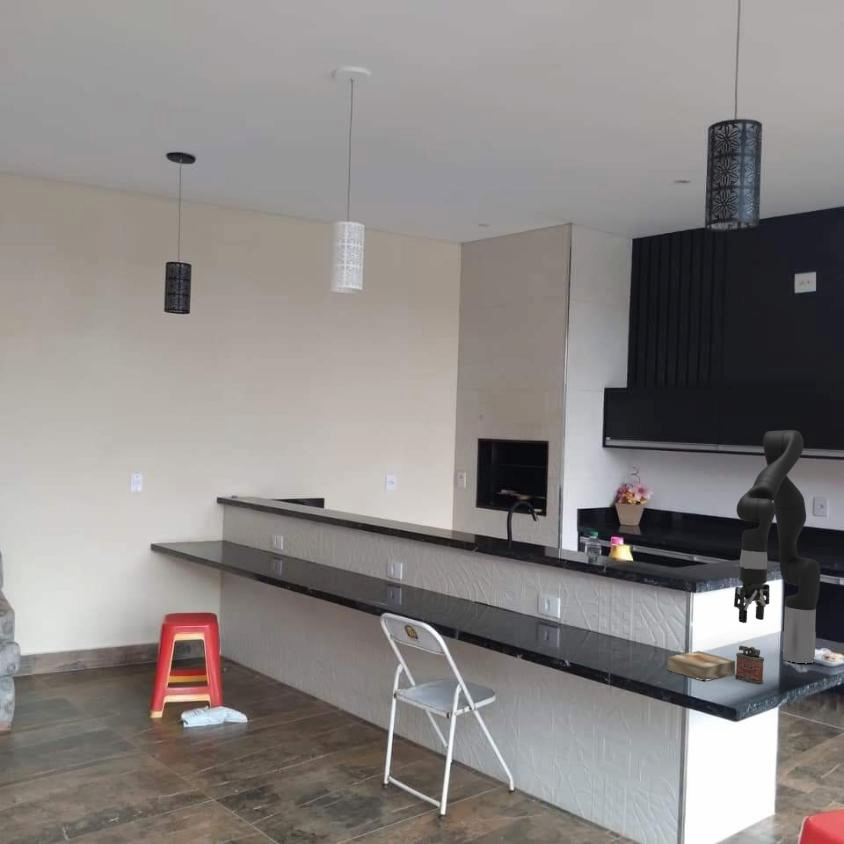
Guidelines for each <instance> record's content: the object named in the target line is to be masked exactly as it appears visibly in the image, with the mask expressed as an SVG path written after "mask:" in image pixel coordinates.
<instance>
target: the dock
mask: <svg viewBox="0 0 844 844" xmlns="http://www.w3.org/2000/svg"><path fill="white" fill-rule="evenodd" d="M668 670H669V671H668ZM667 671H668V672H671V671H672V672H671V673H675V674H678V673H679V674H678V675H681V674H683V675H682V676H685V675H686V677H688V676H690V677H689V678H691V677H694V678H699V679H702V680H706V679H713V680H715V679H714V678H717V679H719V678H718V677H721V678H725V677H728V675H729V676H733V675H736V660H733V659H731V658H730V659H729V658H725V657H723V656H720V655H719V656H718V655H715V654H712V653H711V654H710V653H707V652H704V651H700V650H697V651H693V652H686V653H681V654H677V655H672V656H668V657H667ZM732 674H733V675H732ZM724 676H725V677H724ZM694 678H693V679H694Z"/></svg>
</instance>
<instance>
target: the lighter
mask: <svg viewBox="0 0 844 844" xmlns="http://www.w3.org/2000/svg"><path fill="white" fill-rule="evenodd" d="M738 651H742V652H736V653H735V655H736V656H735V657H736V663H735V674H734V675H735V677H734V679H735V678H736V679H735V680H737V679H739V680H738V681H740V680H742V681H741V682H744V681H745V683H749V684H752V685H764V677H763V676H764V662H765V657H763V656H760V655H761V650H760V649H757V648H756V647H754V646H751V647H749V646H745V645H741V644H740V645H739V646H738Z"/></svg>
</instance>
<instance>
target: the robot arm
mask: <svg viewBox="0 0 844 844" xmlns="http://www.w3.org/2000/svg"><path fill="white" fill-rule="evenodd" d="M762 443H763V452H764V453H763V454H764V457H765V460H766V465H767V466H766V467H765V468H763V469H762V470H761V471H760V472H759V474H758V475H757V476H756V479H755V480H754V483H753V484H752V487H751V488H750V489H749V490H748V491H747V492H746V493H744V494H743V495H742V496H741V497H740V499H739V500H738V501H737V502H738V503H737V505H736V514H737V517H738V518H739V519H740V520H742V521H744V522H753V523H759V525H758V527H757V528H754V529H753V528H752V529H746V530H743V532H742V535H741V553H740V556H739V557H740V558H739V559H740V561H739V581H740V582H742V586H735V588H734V589H735V590H734V600H733V601H734V602H733V606H734V608H737V610H738V622H739V623H742V624H747V622H748V608H749V606H750V605H751V604H752V603H753V602H754V603H755V605H756V606H755V619H756V620H760V621H763V620H764V618H765V615H764V614H765V608H766V606H767V605H770V584H766V583H767V581H768V580H767V579H768V578H767V577H768V541H769V540H768V538H769V533H770V530H771V526H772V523H773V520H774V518H775V520H776V529H777V537H778V545H779V546H778V548H779V549H778V551H779V570H780V575H781V578H782V580H783V582H785V583H786V584H789V585H793V586H798V592H797V593H796V594H793V595H788V596H786V597H785V600H784V618H783V619H784V621H783V622H784V623H783V624H784V625H783V628H784V629H783V643H782V645H783V646H782V659H783V660H784V661H786V662H788V661H790V662H789V663H792V662H795V663H794V664H797V663H805V664H804V665H808V664H807V663H811V662H812V661H813V660H814V657H815V658H816V638H817V637H816V636H817V632H816V619H817V618H816V613H817V612H816V611H817V604H818V601H819V595H820V584H821V567H820V564H819V562H818V561H817V560H815V559H813V558H808V557H803V556H802V557H800V556H799V554H798V547H797V545H798V538H799V536H800V534H801V532H802V530H803V528H804V526H805V524H806V522H807V510H806V504H805V503H806V502H805V498H804V495H803V494H802V493H801V491H800V490H799V488H798V487H797V485H796V484H794V482H792V479H790V477H789V476H788V474H789V473H790V472H791V470H792V469H793V468H794V466H795V465H796V463H797V462H798V460H799V459H800V458H801V456H802V454H803V451H804V438H803V436H802V434H801V433H800V431H798V430H795V429H794V430H793V429H789V430H788V429H787V430H772V431H771V430H770V431H766V432H765V433H764V437H763V442H762Z"/></svg>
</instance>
